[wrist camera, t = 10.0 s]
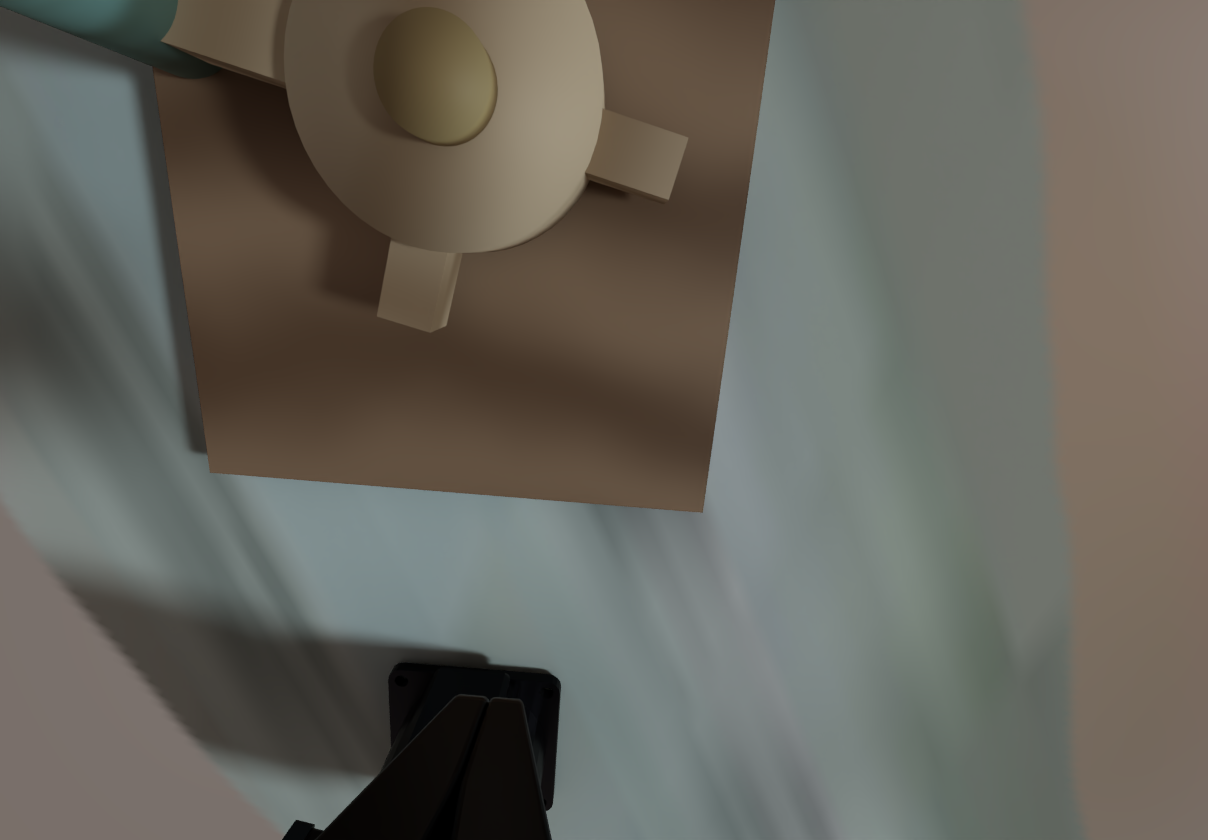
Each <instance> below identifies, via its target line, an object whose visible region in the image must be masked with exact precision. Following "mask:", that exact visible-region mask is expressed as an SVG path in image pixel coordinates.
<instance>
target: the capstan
mask: <svg viewBox="0 0 1208 840" xmlns="http://www.w3.org/2000/svg"><path fill="white" fill-rule="evenodd" d="M0 6H1V7H4V8H6V9H9V10H11V11H14V12H16V13H19V14H22V15H24V16H27V17H29V18H32V19H34V20H37V21H39V22H42V23H44V24H47V25H49V26H52V27H54V28H57V29H60V30H62V31H65V32H67V33H70V34H72V35H75V36H77V37H80V38H82V39H85V40H87V41H90V42H92V43H95V44H98V45H100V46H103V47H105V48H108V49H110V50H113V51H115V52H118V53H120V54H123V55H125V56H128V57H130V58H133V59H136V60H138V61H141V62H143V63H146V64H148V65H151V66H153V67H156V68H158V69H161V70H163V71H166V72H168V73H171V74H174V75H176V76H179V77H183V78H188V79H200V78H205V77H208V76H211V75H213V74H215V73H217V72H218V71H219V70H221V69H222V68H224V69H227V70H230V71H233V72H236V73H240V74H243V75H246V76H249V77H252V78H255V79H258V80H261V81H264V82H267V83H270V84H273V85H276V86H279V87H282V88H285V89H287V95H288V101H289V106H290V109H291V113H292V116H293V120H294V123H295V127H296V129H297V131H298V134H299V136H300V139H301V141H302V144H303V146H304V148H305V150H306V152H307V154H308V156H309V158H310V159H311V161H312V163H313V165H314V167H315V168H316V170H317V171H318V173H319V174H320V176H321V177H322V178H323V180H324V181H325V183H326V184H327V186H328V187H329V188H330V189H331V190H332V192H333V193H334V194H335V195H336V196H337V197H338V198H339V199H340V201H341V202H342V203H343V204H344V205H345V206H347V207H348V208H349V209H350V210H351V211H352V212H353V213H354V214H355V215H356V216H358V217H359V218H360V219H362V220H363V221H364V222H366V223H367V224H369V225H370V226H371V227H373V228H374V229H376V230H378V231H379V232H381V233H383V234H385V235H387V236H389V237H391V242H390V247H389V253H388V258H387V263H386V269H385V274H384V280H383V285H382V291H381V296H380V301H379V307H378V312H377V317H381V318H384V319H387V320H390V321H394V322H397V323H400V324H403V325H407V326H410V327H413V328H416V329H420V330H423V331H426V332H429V333H431V332H433V331H435V330H438V329H440V328H442V327H445V326H446V325H447V321H448V316H449V312H450V307H451V303H452V298H453V294H454V289H455V285H456V280H457V276H458V271H459V267H460V262H461V258H462V254H463V253H480V252H495V251H501V250H507V249H511V248H514V247H517V246H520V245H523V244H525V243H527V242H529V241H531V240H534V239H536V238H538V237H539V236H541V235H542V234H544V233H545V232H547V231H548V230H550V229H551V228H553V227H554V226H555V225H556V224H557V223H558V222H559V221H560V220H562V219H563V218H564V217H565V216H566V215H567V213H568V212H569V211H570V210H571V209H572V208H573V207H574V205H575V204H576V203H577V201H578V200H579V198H580V197H581V195H582V194H583V192H584V191H585V189H586V187H587V185H588V183H589V181H590V180H591V181H594V182H597V183H600V184H603V185H606V186H609V187H612V188H615V189H618V190H621V191H625V192H628V193H631V194H634V195H637V196H640V197H643V198H646V199H649V200H652V201H655V202H658V203H661V204H665V203H666V202H667V201H668V200H669V198H670V194H671V191H672V188H673V185H674V182H675V179H676V176H677V173H678V170H679V166H680V163H681V160H682V157H683V154H684V151H685V148H686V145H687V141H688V137H685V136H682V135H679V134H676V133H674V132H671V131H668V130H665V129H662V128H659V127H656V126H653V125H650V124H647V123H644V122H641V121H638V120H635V119H632V118H629V117H626V116H623V115H621V114H618V113H615V112H612V111H609V110H606V109H605V92H604V82H603V71H602V63H601V56H600V49H599V43H598V39H597V35H596V31H595V27H594V24H593V20H592V17H591V15H590V12H589V10H588V7H587V4H586V2H585V0H0Z"/></svg>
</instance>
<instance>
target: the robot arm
mask: <svg viewBox="0 0 1208 840" xmlns="http://www.w3.org/2000/svg"><path fill="white" fill-rule="evenodd" d="M401 676H405V677H406V678H407V679H404V678H402V677H401ZM388 684H389V706H390V728H391V750H390V752H389V754H388V756H387V758H386V761H385V763H384V765H383V767H382V769H381V772H380V773H379V774H378V775H377V776H376V778H375V779H374V780H373V781H372V782H371V783H370V784H369V785H368V786H367V787H366V788H365V789H364V790H363V791H362V792H361V793H360V794H359V795H358V796H357V797H356V798H355V799H354V800H353V801H352V802H351V803H350V804H349V805H348V806H347V807H346V808H345V809H344V810H343V811H342V812H341V813H340V814H339V815H338V816H337V818H336V819H335V820H334V821H333V822H332V823H331V824H330V825H329V826H328V827H327V828H326V829H325V830H324V831H323V830H319V829H315V828H314V827H315V824H311V823H307V822H303V821H299V820H296V821H295V822H294V823H293V825H292V826H291V828H290V829H289V830H288V832H287V833H286V835H285V836H284V838H283V839H282V840H552V839H551V834H550V829H549V824H548V819H547V814H546V811H547V810H549V809H550V808H551V807H552V804H553V798H554V785H555V770H556V754H557V739H558V724H559V709H560V694H561V683H560V681H559V680H558V678H556V677H555V676H553V675H549V674H537V673H525V672H513V671H500V670H488V669H476V668H464V667H452V666H440V665H427V664H415V663H399V664H397V665H396V666H395V667H394V668H393V670H392V672H391V673H390V675H389V679H388ZM543 688H550V689H551V690H549V691H547V690H544V689H543Z"/></svg>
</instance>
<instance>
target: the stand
mask: <svg viewBox="0 0 1208 840" xmlns="http://www.w3.org/2000/svg"><path fill="white" fill-rule="evenodd" d="M585 2H586V4H587V7H588V10H589V12H590V15H591V17H592V20H593V24H594V27H595V31H596V35H597V39H598V43H599V49H600V56H601V63H602V71H603V82H604V92H605V109H606V110H609V111H612V112H615V113H618V114H621V115H623V116H626V117H629V118H632V119H635V120H638V121H641V122H644V123H647V124H650V125H653V126H656V127H659V128H662V129H665V130H668V131H671V132H674V133H676V134H679V135H682V136H685V137H688V141H687V145H686V148H685V151H684V154H683V157H682V160H681V163H680V166H679V170H678V173H677V176H676V179H675V182H674V185H673V188H672V191H671V194H670V198H669V200H668V201H667V202H666V203H665V204H661V203H658V202H655V201H652V200H649V199H646V198H643V197H640V196H637V195H634V194H631V193H628V192H625V191H621V190H618V189H615V188H612V187H609V186H606V185H603V184H600V183H597V182H594V181H591V180H590V181H589V183H588V185H587V187H586V189H585V191H584V192H583V194H582V195H581V197H580V198H579V200H578V201H577V203H576V204H575V205H574V207H573V208H572V209H571V210H570V211H569V212H568V213H567V215H566V216H565V217H564V218H563V219H562V220H560V221H559V222H558V223H557V224H556V225H555V226H554V227H553V228H551V229H550V230H548V231H547V232H545V233H544V234H542V235H541V236H539V237H538V238H536V239H534V240H531V241H529V242H527V243H525V244H523V245H520V246H517V247H514V248H511V249H507V250H501V251H495V252H480V253H463V254H462V258H461V262H460V267H459V271H458V276H457V280H456V285H455V289H454V294H453V298H452V303H451V307H450V312H449V316H448V321H447V325H446V326H445V327H442V328H440V329H438V330H435V331H433V332H431V333H429V332H426V331H423V330H420V329H416V328H413V327H410V326H407V325H403V324H400V323H397V322H394V321H390V320H387V319H384V318H381V317H377V312H378V307H379V301H380V296H381V291H382V285H383V280H384V274H385V269H386V263H387V258H388V253H389V247H390V242H391V237H389V236H387V235H385V234H383V233H381V232H379V231H378V230H376V229H374V228H373V227H371V226H370V225H369V224H367V223H366V222H364V221H363V220H362V219H360V218H359V217H358V216H356V215H355V214H354V213H353V212H352V211H351V210H350V209H349V208H348V207H347V206H345V205H344V204H343V203H342V202H341V201H340V199H339V198H338V197H337V196H336V195H335V194H334V193H333V192H332V190H331V189H330V188H329V187H328V186H327V184H326V183H325V181H324V180H323V178H322V177H321V176H320V174H319V173H318V171H317V170H316V168H315V167H314V165H313V163H312V161H311V159H310V158H309V156H308V154H307V152H306V150H305V148H304V146H303V144H302V141H301V139H300V136H299V134H298V131H297V129H296V127H295V123H294V120H293V116H292V113H291V109H290V106H289V101H288V95H287V89H285V88H282V87H279V86H276V85H273V84H270V83H267V82H264V81H261V80H258V79H255V78H252V77H249V76H246V75H243V74H240V73H236V72H233V71H230V70H227V69H224V68H222V69H221V70H219V71H218V72H217V73H215V74H213V75H211V76H208V77H205V78H200V79H188V78H183V77H179V76H176V75H174V74H171V73H168V72H166V71H163V70H161V69H158V68H156V67H153V73H154V80H155V88H156V95H157V102H158V109H159V116H160V123H161V130H162V137H163V144H164V151H165V158H166V165H167V172H168V179H169V186H170V193H171V200H172V207H173V215H174V222H175V229H176V236H177V243H178V250H179V257H180V264H181V271H182V278H183V285H184V292H185V299H186V306H187V313H188V320H189V327H190V334H191V341H192V349H193V356H194V363H195V370H196V377H197V384H198V391H199V398H200V405H201V412H202V419H203V426H204V433H205V440H206V447H207V454H208V461H209V468H210V473H222V474H234V475H247V476H259V477H271V478H284V479H296V480H308V481H320V482H333V483H345V484H357V485H370V486H382V487H394V488H407V489H419V490H431V491H443V492H456V493H468V494H480V495H493V496H505V497H517V498H529V499H542V500H554V501H566V502H579V503H591V504H603V505H616V506H628V507H640V508H652V509H665V510H677V511H689V512H702V513H703V507H704V499H705V492H706V485H707V478H708V471H709V464H710V457H711V450H712V443H713V436H714V429H715V422H716V415H717V408H718V401H719V394H720V387H721V379H722V372H723V365H724V358H725V351H726V344H727V337H728V330H729V323H730V316H731V309H732V302H733V295H734V288H735V281H736V274H737V266H738V259H739V252H740V245H741V238H742V231H743V224H744V217H745V210H746V203H747V196H748V189H749V182H750V175H751V168H752V161H753V154H754V146H755V139H756V132H757V125H758V118H759V111H760V104H761V97H762V90H763V83H764V76H765V69H766V62H767V55H768V48H769V41H770V33H771V26H772V19H773V12H774V5H775V0H585Z"/></svg>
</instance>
